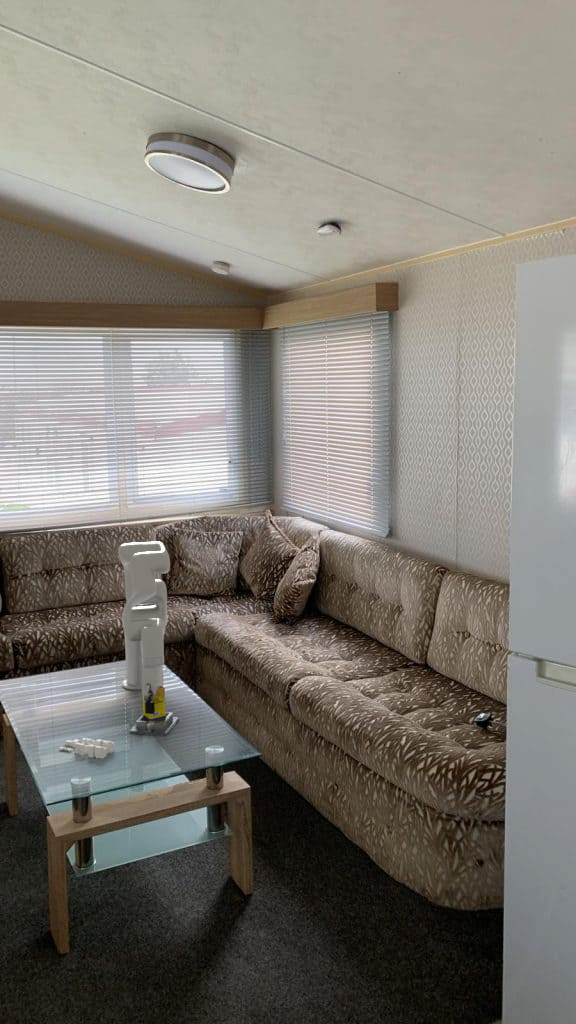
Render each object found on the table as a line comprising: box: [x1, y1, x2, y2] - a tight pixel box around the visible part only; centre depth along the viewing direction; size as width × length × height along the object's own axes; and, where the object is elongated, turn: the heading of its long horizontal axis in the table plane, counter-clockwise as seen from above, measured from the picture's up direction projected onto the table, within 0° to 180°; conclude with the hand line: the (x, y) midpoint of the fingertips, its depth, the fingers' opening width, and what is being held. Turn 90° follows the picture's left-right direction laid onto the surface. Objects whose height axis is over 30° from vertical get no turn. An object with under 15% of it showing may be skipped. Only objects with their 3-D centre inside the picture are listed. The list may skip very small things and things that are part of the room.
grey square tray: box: [129, 711, 180, 736], centre depth 295 cm, size 14×13×4 cm
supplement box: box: [141, 686, 166, 721], centre depth 294 cm, size 6×6×11 cm
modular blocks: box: [58, 737, 115, 759], centre depth 276 cm, size 20×7×4 cm, turn 70°
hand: (154, 708), depth 295 cm, fingers closed on supplement box, 8 cm apart
